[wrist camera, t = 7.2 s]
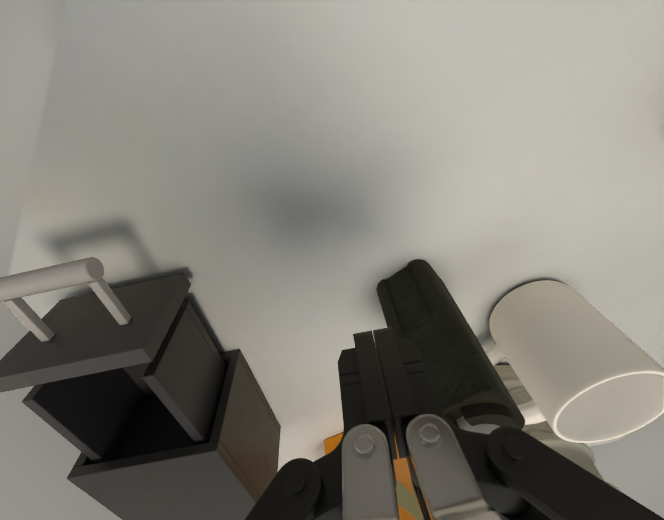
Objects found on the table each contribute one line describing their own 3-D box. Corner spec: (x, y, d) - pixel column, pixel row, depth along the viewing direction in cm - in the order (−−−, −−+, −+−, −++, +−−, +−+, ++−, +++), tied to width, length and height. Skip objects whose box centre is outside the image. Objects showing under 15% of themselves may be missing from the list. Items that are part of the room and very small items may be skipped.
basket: (16, 247, 24) (-97, 323, 17) (153, 216, 23) (91, 281, 16) (141, 394, 33) (99, 479, 26) (241, 374, 32) (224, 457, 26)
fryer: (126, 372, 32) (65, 478, 24) (239, 349, 32) (216, 450, 23) (187, 444, 39) (156, 545, 31) (280, 426, 39) (273, 525, 31)
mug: (474, 370, 36) (528, 473, 27) (436, 329, 32) (485, 433, 23) (584, 313, 32) (687, 410, 23) (556, 260, 28) (667, 351, 20)
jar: (466, 442, 43) (550, 645, 28) (406, 404, 38) (470, 630, 23) (558, 394, 39) (715, 605, 24) (504, 343, 34) (663, 574, 19)
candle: (402, 319, 31) (607, 893, 10) (371, 287, 29) (552, 944, 7) (449, 291, 29) (814, 894, 8) (421, 254, 27) (823, 958, 6)
